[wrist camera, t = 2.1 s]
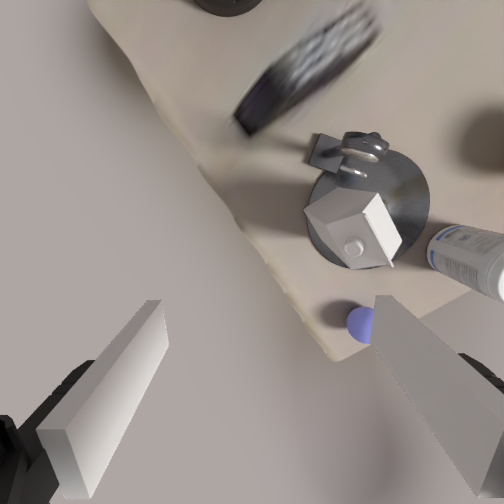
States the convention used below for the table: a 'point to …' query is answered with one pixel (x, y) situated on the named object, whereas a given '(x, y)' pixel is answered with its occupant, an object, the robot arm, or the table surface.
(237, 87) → the table surface
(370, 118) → the table surface
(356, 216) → the milk carton
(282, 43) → the table surface
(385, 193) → the turntable
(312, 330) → the table surface
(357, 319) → the sphere
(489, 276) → the supplement tub
